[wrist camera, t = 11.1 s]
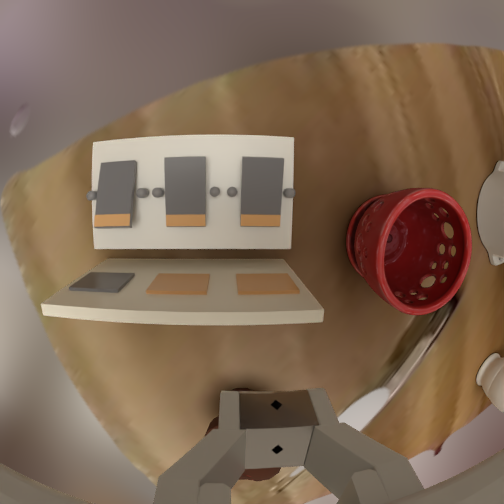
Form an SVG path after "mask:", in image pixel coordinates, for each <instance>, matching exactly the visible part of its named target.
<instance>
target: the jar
mask: <svg viewBox="0 0 504 504" xmlns="http://www.w3.org/2000/svg"><path fill="white" fill-rule="evenodd" d="M476 382H477V384H478V385H481V386H482V388H483V390H484V392H485V394H486V395H487V396H488V398H489V399H490V401H491V402H492V403H493V404H494V406H495V407H496V408H498V409H499V410H500V411H502V412H503V413H504V358H500V355H499V354H498V353H494V354H492V355H490V356H489V357H488V358H487V359H486V360H485V362H484V363H483V364H482V366H481V368H480V369H479V371H478V374H477V378H476Z"/></svg>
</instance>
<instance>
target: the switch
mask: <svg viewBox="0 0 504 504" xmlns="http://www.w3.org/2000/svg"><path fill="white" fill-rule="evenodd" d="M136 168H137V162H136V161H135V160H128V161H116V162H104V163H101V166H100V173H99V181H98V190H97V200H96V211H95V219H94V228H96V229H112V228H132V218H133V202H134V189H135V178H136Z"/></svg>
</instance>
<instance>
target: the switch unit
mask: <svg viewBox="0 0 504 504" xmlns="http://www.w3.org/2000/svg"><path fill="white" fill-rule="evenodd" d="M186 156H206V227H167V226H166V206H165V173H164V158H165V157H186ZM242 156H249V157H276V158H284V172H283V188H282V202H281V219H280V227H240V210H241V175H242ZM128 160H135V161H136V162H137V168H136V178H135V189H134V202H133V218H132V228H112V229H96V228H94V219H95V211H96V200H97V190H98V181H99V173H100V166H101V163H104V162H116V161H128ZM293 170H294V137H279V136H258V135H176V136H156V137H141V138H129V139H118V140H109V141H100V142H93V156H92V191H89V192H88V193H87V199H88V200H92V217H93V236H94V249H291V235H292V208H293V197H294V196H295V190H294V189H293ZM41 306H42V311H43V315H46V316H55V317H64V318H74V319H85V320H96V321H110V322H125V323H143V324H169V325H270V324H296V323H315V322H323V315H324V309H323V307H322V306H321V305H320V304H319V302H318V301H317V300H316V299H315V297H314V296H313V295H312V294H311V292H310V291H309V290H308V289H307V287H306V286H305V285H304V284H303V282H302V281H301V280H300V279H299V278H298V276H297V275H296V274H295V273H294V271H293V270H292V269H291V268H290V266H289V265H288V264H287V263H286V261H285V260H284V259H143V258H108V259H106V260H105V261H103V262H102V263H100V264H99V265H97V266H95V267H94V268H92V269H91V270H89V271H88V272H86V273H85V274H83V275H82V276H80V277H79V278H77V279H76V280H74V281H73V282H71V283H70V284H68V285H67V286H65V287H64V288H63V289H61V290H60V291H58V292H57V293H55V294H54V295H52V296H51V297H50V298H48V299H47V300H45V301H44V302H43V303H41Z"/></svg>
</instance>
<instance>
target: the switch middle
mask: <svg viewBox="0 0 504 504" xmlns="http://www.w3.org/2000/svg"><path fill="white" fill-rule="evenodd" d="M164 173H165V206H166V226H167V227H206V156H186V157H165V158H164Z"/></svg>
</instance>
